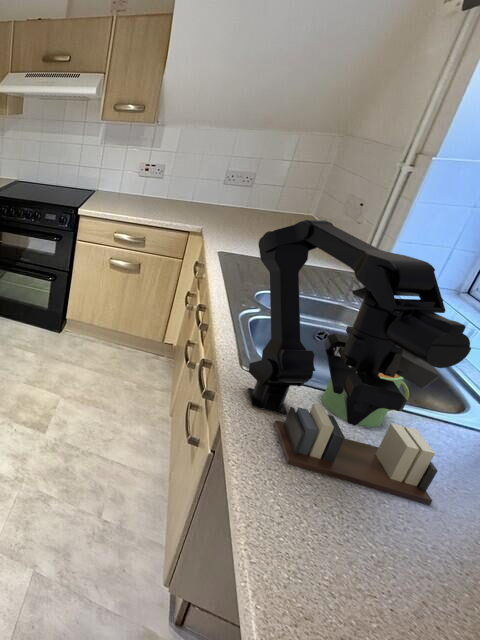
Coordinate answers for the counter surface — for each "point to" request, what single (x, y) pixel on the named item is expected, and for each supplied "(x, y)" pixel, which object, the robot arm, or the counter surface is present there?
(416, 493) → the book rack
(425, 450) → the cream book
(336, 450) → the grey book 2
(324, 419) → the cream book
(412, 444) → the cream book
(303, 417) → the grey book
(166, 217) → the counter surface
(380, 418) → the mug
